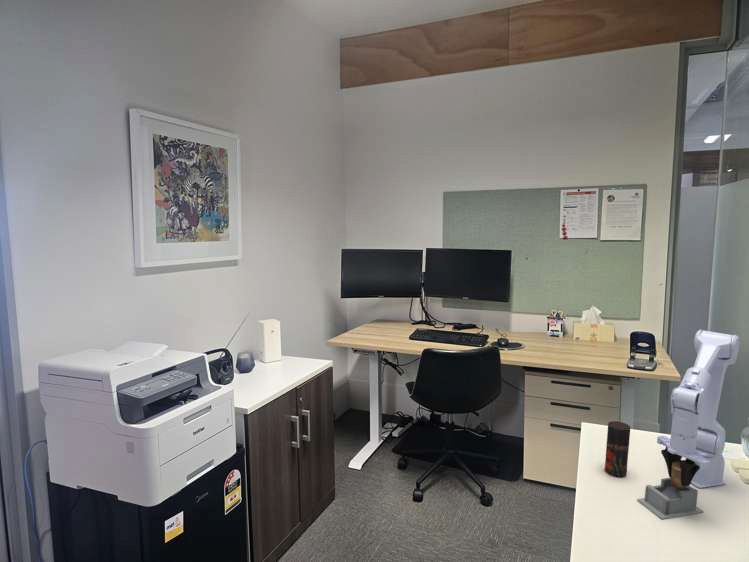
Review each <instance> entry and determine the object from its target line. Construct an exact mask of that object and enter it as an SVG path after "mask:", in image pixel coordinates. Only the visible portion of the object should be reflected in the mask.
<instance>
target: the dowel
mask: <svg viewBox="0 0 749 562" xmlns="http://www.w3.org/2000/svg"><path fill="white" fill-rule="evenodd" d="M671 486H673V487H674V488H676V489H681V490H684V489H686V488H687V486H683V485H681V467H680V464H679V461H674V462H672V471H671Z"/></svg>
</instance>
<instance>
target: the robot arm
mask: <svg viewBox="0 0 749 562" xmlns="http://www.w3.org/2000/svg"><path fill="white" fill-rule="evenodd" d="M693 346H694V348H695V352H696V354H697V355H696V359H695V362H694V364H693V366H692V367H689V368H687V369H686V372H685V374H684V376H683V377H682V379H681V382H680V384H679V385H678V386H677V387H674V388H673V389H672V392H671V396H670V406H671V409H670V413H671V414H672V420H671V421H672V422H671V429H670V430H671V431H670V438H669V437H667V436H665V435H660V436H657V440H656V442H657V444H659V445H662V446H664V447H665V448H664V449H661V452H660V453H661V455H662V457H663V459H664V462H665V464H666V468H667V469H666V470H667V473H668V478H671V471H672V462H674V461H679V464H680V467H681V485H683V486H690V485H691V484H692V485H693V486H695V487H697V488H699V489H701V488H702V489H703V488H708V487H715V486H721V485H726V482H725V481H724V471H725V465H726V463H725V458H724V456H723V453H724V450H725V445H726V435H727V434H726V433H727V432H726V429H725V428H724V427H723V426H722V425H721V424H720V423H719V422H718V421H717V415H718V410H719V405H720V402H721V401H720V399H721V397H722V396H721V395H722V394H721V393H722V391H723V385H724V380H725V374H726V370H727V369H728V366H730V365H735V364H736V362H737V360H738V355H739V350H740V337H739V335H738V334H727V333H721V332H716V331H710V330H709V331H708V330H704V329H698V331H696V333H695V336H694V342H693ZM682 458H685V459H682Z"/></svg>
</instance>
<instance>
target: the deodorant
mask: <svg viewBox="0 0 749 562" xmlns="http://www.w3.org/2000/svg"><path fill="white" fill-rule="evenodd" d="M630 434H631V426H630V425H629V424H627V423H625V422H622V421H615V420H614V421H613V420H612V421H608V423H607V434H606V436H607V437H606V449H605V461H604V472H605V473H606V475H608V476H610V477H614V478H618V479H623V478H626V477H627V474H628V461H629V449H630V436H631V435H630Z"/></svg>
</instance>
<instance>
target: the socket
mask: <svg viewBox="0 0 749 562" xmlns="http://www.w3.org/2000/svg"><path fill="white" fill-rule="evenodd" d="M698 494H699V490H698V489H696V488H694V487H692V486H690V485H689V486H687V488H686V489H684V490H681V489H676V488H674V487H673V486H671V478H670V477H666V478H665V477H664V478H661V480H660V484H659V485H653V486H652V485H651V484H646V485H645V492H644V497H643V498H637V500H636V501H637V502H638V503H639V504H641V505H642V506H644V507H645V508H646V509H647V510H648V511H650V512H651V513H652V514H654V516H656V517H658V519H660V520H669V519H675V518H678V517H680V518H681V517H685V516H691V515H698V514H703V513H704V510H703V509H702V508H700V507H698V506H697V504H698V503H697V501H698Z"/></svg>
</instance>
